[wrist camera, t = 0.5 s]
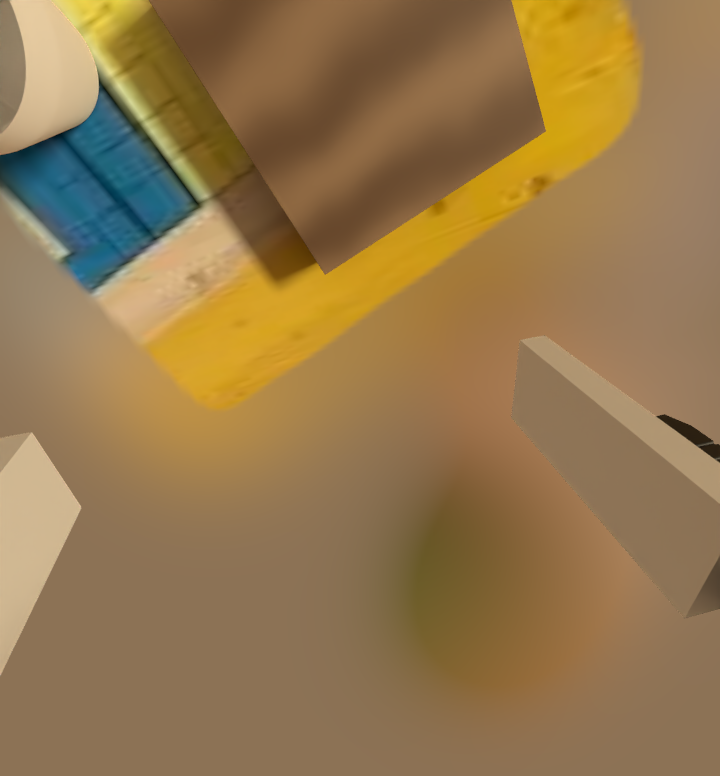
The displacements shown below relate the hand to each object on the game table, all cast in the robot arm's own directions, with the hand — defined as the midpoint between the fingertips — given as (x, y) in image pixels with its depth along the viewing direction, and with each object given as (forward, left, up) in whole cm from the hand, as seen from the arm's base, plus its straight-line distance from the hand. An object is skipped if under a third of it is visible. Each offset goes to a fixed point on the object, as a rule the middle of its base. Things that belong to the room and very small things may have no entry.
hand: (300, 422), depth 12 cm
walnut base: (-6, +11, -25) cm, 28 cm away
